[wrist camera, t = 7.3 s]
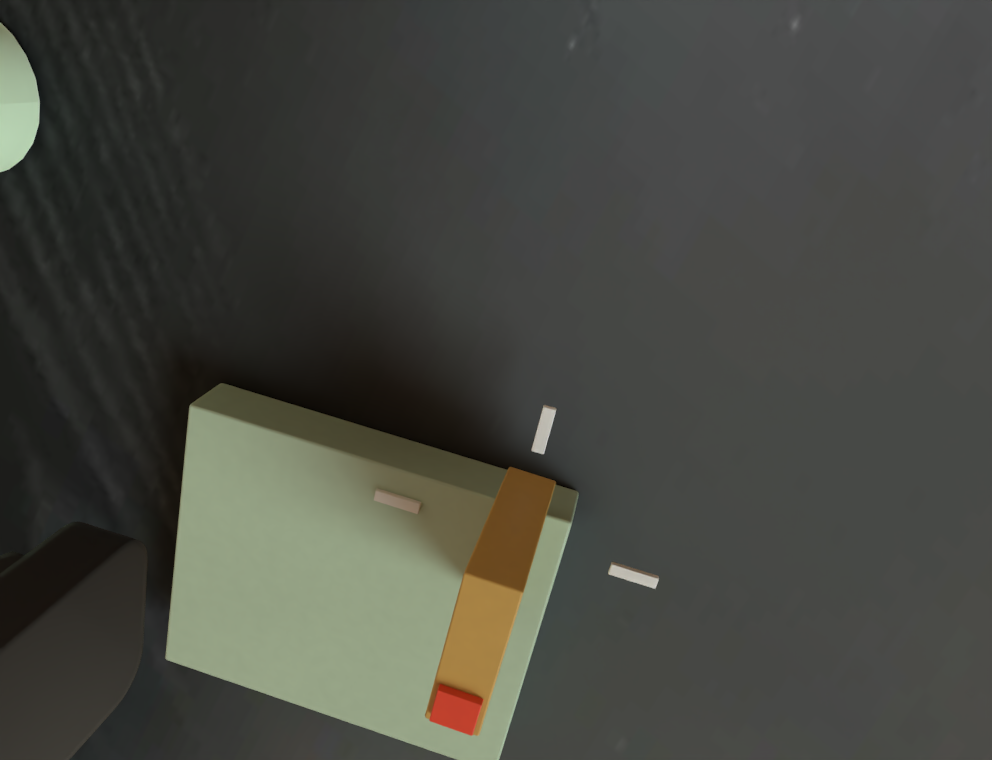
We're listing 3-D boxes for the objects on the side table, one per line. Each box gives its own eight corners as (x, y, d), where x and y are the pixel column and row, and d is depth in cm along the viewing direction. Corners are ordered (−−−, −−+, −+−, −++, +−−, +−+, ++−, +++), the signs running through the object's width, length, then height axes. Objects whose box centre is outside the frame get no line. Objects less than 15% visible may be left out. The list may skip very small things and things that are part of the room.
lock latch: (509, 465, 24) (461, 578, 19) (556, 480, 24) (521, 598, 19) (474, 589, 26) (421, 725, 20) (518, 604, 25) (475, 745, 20)
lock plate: (702, 422, 24) (704, 454, 23) (582, 756, 30) (575, 805, 28) (231, 285, 26) (194, 303, 24) (194, 624, 31) (161, 663, 29)
